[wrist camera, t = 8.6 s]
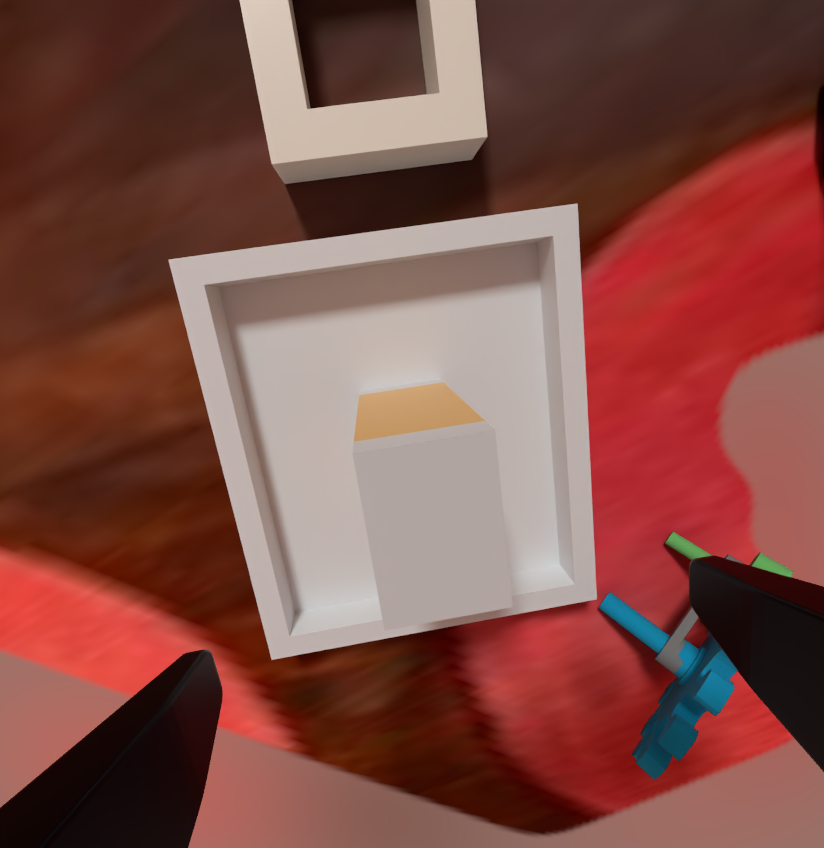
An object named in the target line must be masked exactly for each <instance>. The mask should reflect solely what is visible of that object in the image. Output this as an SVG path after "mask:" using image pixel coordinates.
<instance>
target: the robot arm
mask: <svg viewBox="0 0 824 848" xmlns="http://www.w3.org/2000/svg"><path fill="white" fill-rule="evenodd" d="M823 177H824V161H823ZM689 600H690V603H691V606H692V608H693V610H694V611H695V613H696V614H697V616H698V617H699V618H700V620H701V621H702V622H703V624H704V625H705V627H706V628H707V629H708V631H709V632H710V633H711V635H712V636H713V638H714V639H715V640H716V642H717V643H718V644H719V646H720V647H721V648H722V650H723V651H724V653H725V654H726V655H727V657H728V658H729V659H730V661H731V662H732V664H733V665H734V666H735V668H736V669H737V670H738V672H739V673H740V674H741V676H742V677H743V678H744V680H745V681H746V682H747V683H748V685H749V686H750V687H751V688H752V690H753V691H754V692H755V693H756V694H757V696H758V697H759V698H760V699H761V700H762V701H763V703H764V704H765V705H766V706H767V707H768V708H769V710H770V711H771V712H772V713H773V714H774V715H775V716H776V718H777V719H778V720H779V721H780V722H781V723H782V724H783V726H784V727H785V728H786V729H787V730H788V731H789V732H790V734H791V735H792V736H793V737H794V738H795V739H796V741H797V742H798V743H799V744H800V745H801V746H802V747H803V749H804V750H805V751H806V752H807V753H808V754H809V755H810V757H811V758H812V759H813V760H814V761H815V762H816V763H817V764H818V766H819V767H820V768H821V769H822V770H823V772H824V587H822V586H819V585H815V584H812V583H808V582H805V581H802V580H798V579H795V578H791V577H788V576H784V575H781V574H777V573H774V572H770V571H767V570H763V569H760V568H756V567H753V566H749V565H746V564H742V563H739V562H735V561H732V560H729V559H725V558H722V557H718V556H706V557H700V558H695V559H693V560H692V561H691V562H690V565H689ZM221 704H222V686H221V682H220V679H219V675H218V672H217V668H216V665H215V662H214V658H213V655H212V653H211V652H210V651H209V650H206V649H205V650H199V651H194V652H189V653H185V654H183V655H182V656H181V657H180V658H179V659H177V660H176V661H175V662H174V663H173V664H171V665H170V666H169V667H168V668H167V669H165V670H164V671H163V672H162V673H161V674H159V675H158V676H157V677H156V678H155V679H153V680H152V681H151V682H150V683H149V684H147V685H146V686H145V687H144V688H143V689H141V690H140V691H139V692H138V693H137V694H136V695H134V696H133V697H132V698H131V699H130V700H128V701H127V702H126V703H125V704H124V705H122V706H121V707H120V708H119V709H118V710H116V711H115V712H114V713H113V714H112V715H110V716H109V717H108V718H107V719H106V720H104V721H103V722H102V723H101V724H100V725H99V726H97V727H96V728H95V729H94V730H93V731H91V732H90V733H89V734H88V735H87V736H85V737H84V738H83V739H82V740H81V741H80V742H78V743H77V744H76V745H75V746H74V747H72V748H71V749H70V750H69V751H68V752H66V753H65V754H64V755H63V756H62V757H60V758H59V759H58V760H57V761H56V762H54V763H53V764H52V765H51V766H50V767H49V768H47V769H46V770H45V771H44V772H42V773H41V774H40V775H39V776H38V777H36V778H35V779H34V780H33V781H32V782H30V783H29V784H28V785H27V786H26V787H25V788H23V789H22V790H21V791H20V792H18V793H17V794H16V795H15V796H14V797H13V798H11V799H10V800H9V801H8V802H7V803H5V804H4V805H3V806H2V807H1V808H0V848H188V846H189V843H190V839H191V836H192V832H193V829H194V826H195V822H196V819H197V816H198V812H199V809H200V805H201V801H202V798H203V793H204V789H205V785H206V780H207V775H208V770H209V765H210V760H211V754H212V750H213V745H214V739H215V734H216V729H217V724H218V719H219V714H220V709H221Z"/></svg>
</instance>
